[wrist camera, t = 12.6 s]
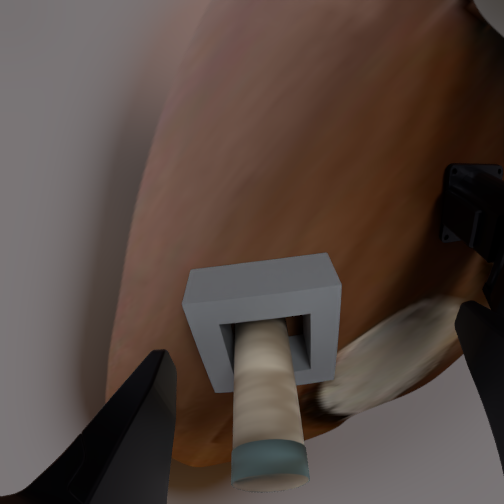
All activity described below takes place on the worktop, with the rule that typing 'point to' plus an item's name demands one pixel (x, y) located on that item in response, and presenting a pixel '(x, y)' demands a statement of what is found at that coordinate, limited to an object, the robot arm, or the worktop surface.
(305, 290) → the socket block
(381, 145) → the worktop surface
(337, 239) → the worktop surface
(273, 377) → the birch peg
